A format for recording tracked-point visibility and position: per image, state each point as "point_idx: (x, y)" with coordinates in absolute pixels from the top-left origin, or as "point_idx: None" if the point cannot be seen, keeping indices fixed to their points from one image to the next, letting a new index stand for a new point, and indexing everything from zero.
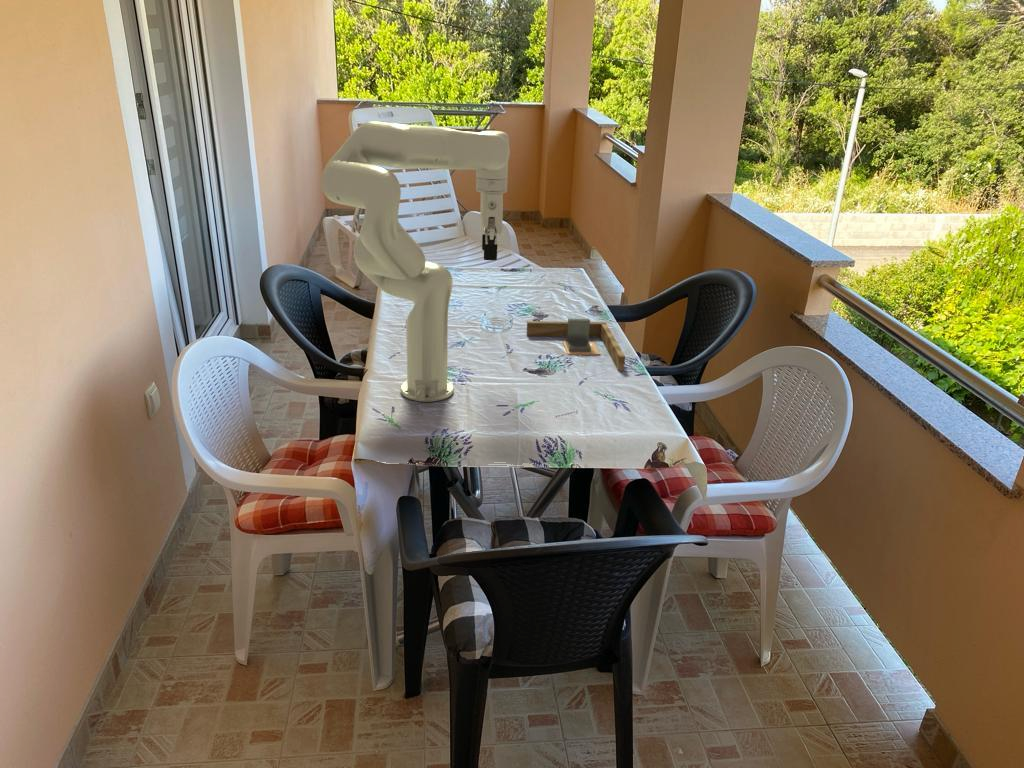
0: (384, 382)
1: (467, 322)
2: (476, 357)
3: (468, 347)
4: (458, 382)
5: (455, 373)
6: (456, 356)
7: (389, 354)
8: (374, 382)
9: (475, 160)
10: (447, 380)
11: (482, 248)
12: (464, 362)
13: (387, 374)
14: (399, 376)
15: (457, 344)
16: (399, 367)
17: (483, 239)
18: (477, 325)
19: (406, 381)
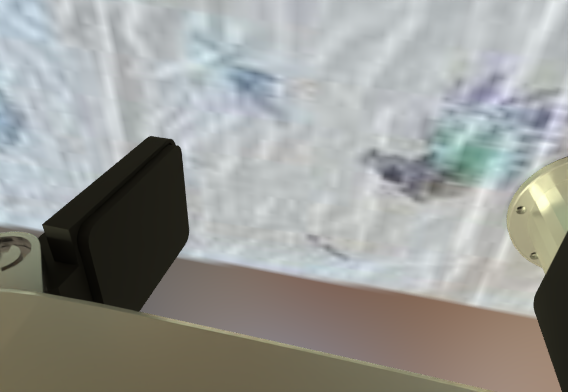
0: (489, 286)
1: (73, 36)
2: (363, 46)
3: (279, 61)
4: (551, 128)
5: (479, 127)
6: (348, 106)
7: (320, 255)
8: (482, 302)
9: None
10: (563, 166)
11: (178, 244)
12: (399, 89)
13: (442, 274)
14: (461, 255)
15: (255, 91)
16: (404, 247)
17: (139, 303)
18: (91, 5)
19: (530, 257)
